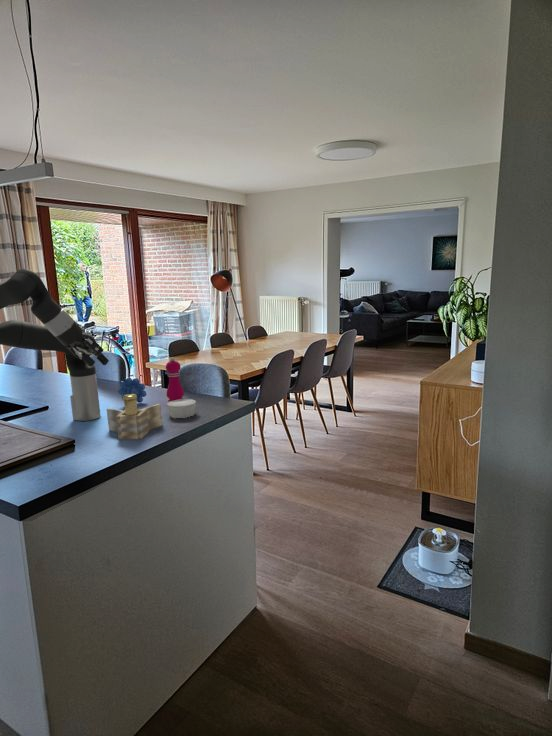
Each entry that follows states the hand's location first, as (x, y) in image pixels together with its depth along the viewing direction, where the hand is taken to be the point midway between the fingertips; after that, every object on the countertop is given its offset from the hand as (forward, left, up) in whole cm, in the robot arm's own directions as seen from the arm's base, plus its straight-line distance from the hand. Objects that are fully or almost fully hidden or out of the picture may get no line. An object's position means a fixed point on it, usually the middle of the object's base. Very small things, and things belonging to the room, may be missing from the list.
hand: (99, 364), depth 155 cm
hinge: (+6, +7, -26) cm, 27 cm away
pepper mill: (+12, +43, -26) cm, 52 cm away
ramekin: (+19, +26, -26) cm, 41 cm away
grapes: (-6, +43, -26) cm, 51 cm away
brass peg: (+8, +3, -26) cm, 27 cm away
